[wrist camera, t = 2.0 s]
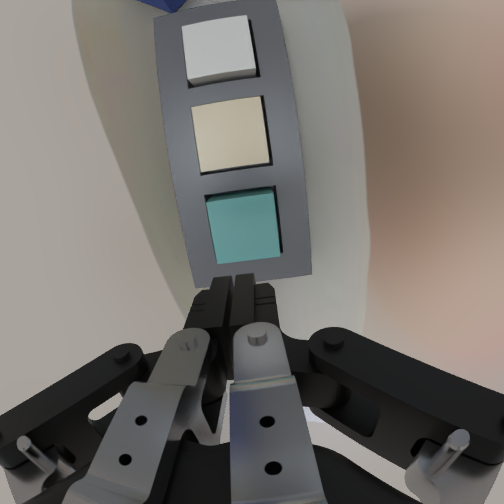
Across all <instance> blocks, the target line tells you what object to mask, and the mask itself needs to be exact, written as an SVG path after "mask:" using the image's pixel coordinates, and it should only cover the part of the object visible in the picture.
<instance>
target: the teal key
mask: <svg viewBox="0 0 504 504" xmlns="http://www.w3.org/2000/svg"><path fill="white" fill-rule="evenodd" d="M206 205H207V211H208V217H209V222H210V228H211V233H212V239H213V244H214V249H215V254H216V259H217V264H223V263H231V262H239V261H248V260H256V259H264V258H272V257H280V248H279V239H278V230H277V221H276V212H275V203H274V195H273V192H272V189H271V187H264V188H256V189H249V190H241V191H234V192H227V193H221V194H214V195H212V196H211V197H210V198H209V200H208V201H207V202H206Z"/></svg>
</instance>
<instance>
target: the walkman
mask: <svg viewBox="0 0 504 504" xmlns="http://www.w3.org/2000/svg"><path fill="white" fill-rule="evenodd" d="M138 1H141V2H143V3H146V4H149V5H152V6H154V7H157V8H159V9H162V10H164V11H167V12H169V13H174V12H176V10H177V9H178V8H179V7H180V6H181V5H182V4H183V3H184V2H185V1H186V0H138Z"/></svg>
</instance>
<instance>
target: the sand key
mask: <svg viewBox="0 0 504 504" xmlns="http://www.w3.org/2000/svg"><path fill="white" fill-rule="evenodd" d="M191 110H192V117H193V124H194V131H195V137H196V144H197V151H198V157H199V163H200V170H201V172H206V171H211V170H218V169H224V168H231V167H237V166H245V165H252V164H260V163H268V162H269V156H268V148H267V141H266V133H265V126H264V119H263V112H262V105H261V99H260V96H257V97H249V98H242V99H235V100H228V101H222V102H216V103H210V104H205V105H200V106H195V107H191Z"/></svg>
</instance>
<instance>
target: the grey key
mask: <svg viewBox="0 0 504 504" xmlns="http://www.w3.org/2000/svg"><path fill="white" fill-rule="evenodd" d="M182 34H183V44H184V53H185V62H186V71H187V79H188V80H189V81H190V82H191V84H192V85H193V86H194V87H200V86H205V85H210V84H216V83H222V82H228V81H235V80H242V79H250V78H255V75H256V67H255V60H254V54H253V48H252V42H251V37H250V31H249V25H248V19H247V15H243V16H235V17H228V18H221V19H215V20H210V21H204V22H199V23H195V24H190V25H186V26H182Z"/></svg>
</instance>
